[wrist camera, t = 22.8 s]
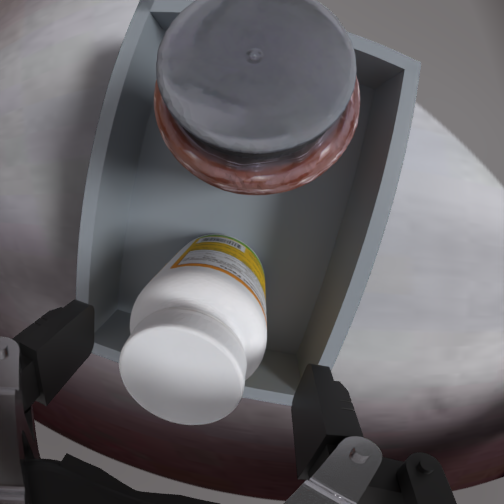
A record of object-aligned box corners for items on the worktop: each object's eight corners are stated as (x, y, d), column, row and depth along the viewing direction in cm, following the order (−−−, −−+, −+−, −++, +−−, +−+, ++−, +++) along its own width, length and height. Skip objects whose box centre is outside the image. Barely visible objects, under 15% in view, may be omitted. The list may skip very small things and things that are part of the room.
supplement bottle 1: (304, 194, 17) (384, 236, 6) (196, 179, 17) (88, 196, 6) (319, 90, 15) (403, -16, 4) (211, 76, 15) (143, -45, 4)
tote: (383, 85, 16) (421, 62, 11) (302, 360, 20) (312, 408, 15) (167, 35, 15) (140, -1, 10) (111, 311, 20) (76, 346, 15)
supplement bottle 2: (205, 333, 19) (166, 451, 10) (156, 260, 18) (69, 343, 8) (282, 294, 18) (299, 410, 9) (234, 214, 17) (201, 267, 8)
